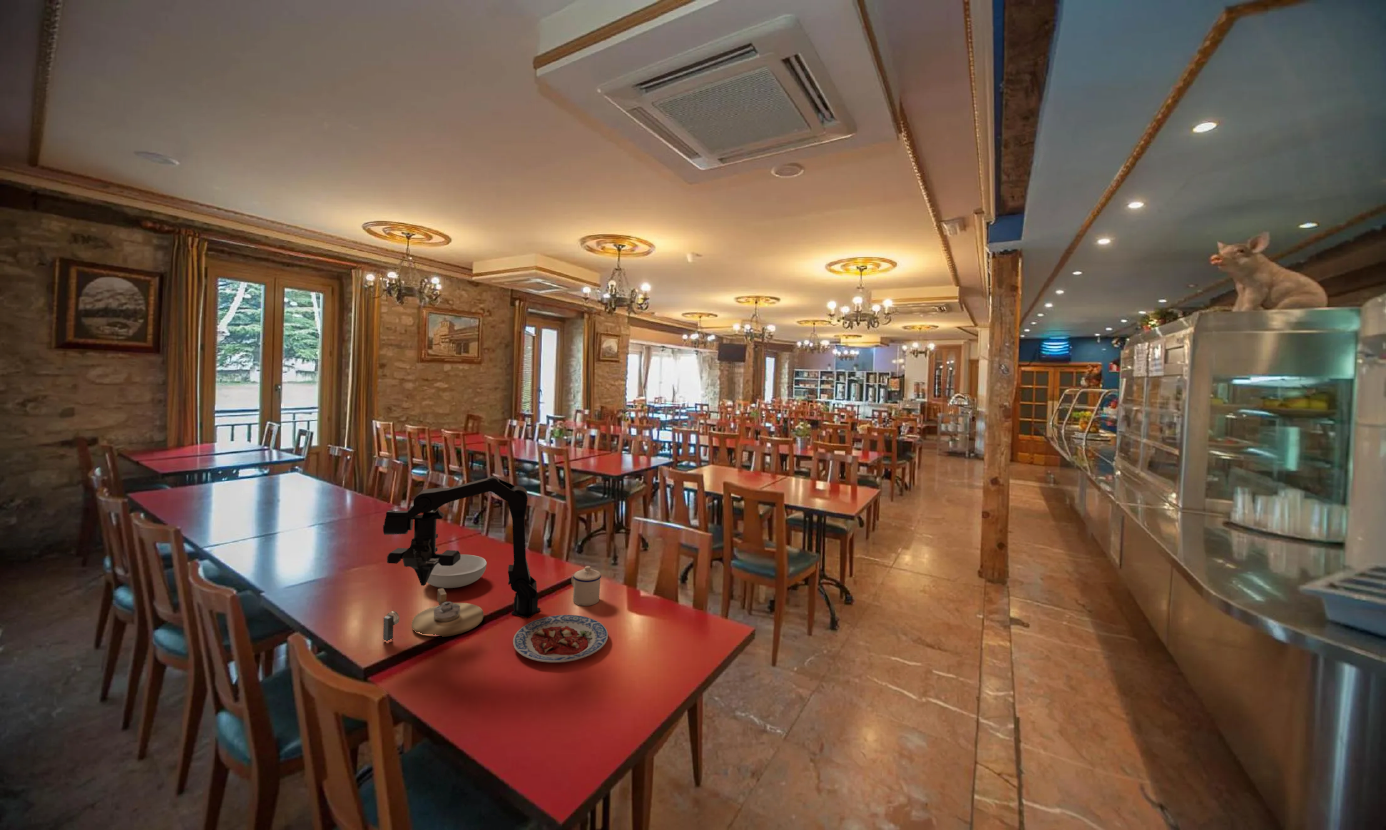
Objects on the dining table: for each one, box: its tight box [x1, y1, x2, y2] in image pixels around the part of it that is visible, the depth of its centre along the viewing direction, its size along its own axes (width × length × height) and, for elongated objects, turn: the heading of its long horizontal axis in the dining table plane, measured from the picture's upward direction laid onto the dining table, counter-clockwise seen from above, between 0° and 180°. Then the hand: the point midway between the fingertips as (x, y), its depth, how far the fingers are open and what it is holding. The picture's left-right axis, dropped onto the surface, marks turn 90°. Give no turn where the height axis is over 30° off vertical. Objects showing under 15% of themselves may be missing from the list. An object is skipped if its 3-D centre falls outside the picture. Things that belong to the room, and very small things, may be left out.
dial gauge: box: [382, 610, 400, 641], centre depth 136 cm, size 4×3×8 cm
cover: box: [434, 601, 460, 623], centre depth 148 cm, size 7×7×4 cm
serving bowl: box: [426, 553, 488, 589], centre depth 176 cm, size 21×21×7 cm
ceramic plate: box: [512, 614, 609, 663], centre depth 141 cm, size 26×26×3 cm
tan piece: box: [411, 588, 484, 638], centre depth 148 cm, size 21×19×5 cm
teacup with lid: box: [571, 565, 602, 607], centre depth 169 cm, size 12×9×12 cm
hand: (423, 585), depth 148 cm, fingers closed
